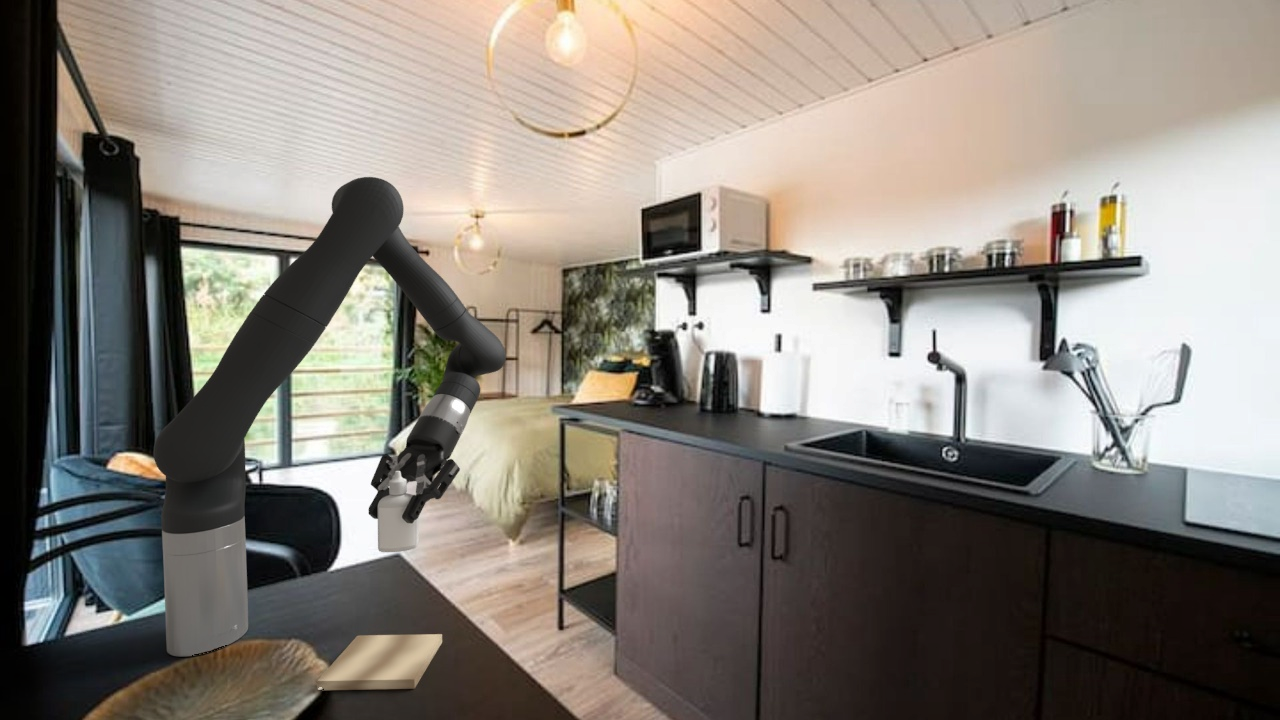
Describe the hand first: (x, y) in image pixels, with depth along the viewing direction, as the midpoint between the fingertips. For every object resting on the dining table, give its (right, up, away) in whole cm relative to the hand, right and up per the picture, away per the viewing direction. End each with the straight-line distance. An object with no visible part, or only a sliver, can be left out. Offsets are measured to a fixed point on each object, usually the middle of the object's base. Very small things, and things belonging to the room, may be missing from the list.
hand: (390, 518), depth 79 cm
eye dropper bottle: (0, -5, +2) cm, 6 cm away
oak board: (+3, -17, -9) cm, 19 cm away
